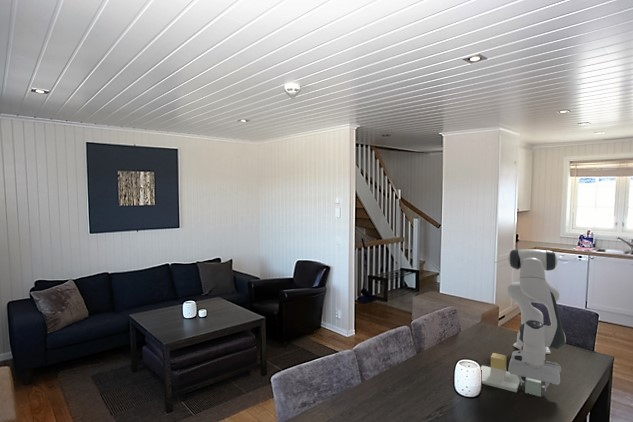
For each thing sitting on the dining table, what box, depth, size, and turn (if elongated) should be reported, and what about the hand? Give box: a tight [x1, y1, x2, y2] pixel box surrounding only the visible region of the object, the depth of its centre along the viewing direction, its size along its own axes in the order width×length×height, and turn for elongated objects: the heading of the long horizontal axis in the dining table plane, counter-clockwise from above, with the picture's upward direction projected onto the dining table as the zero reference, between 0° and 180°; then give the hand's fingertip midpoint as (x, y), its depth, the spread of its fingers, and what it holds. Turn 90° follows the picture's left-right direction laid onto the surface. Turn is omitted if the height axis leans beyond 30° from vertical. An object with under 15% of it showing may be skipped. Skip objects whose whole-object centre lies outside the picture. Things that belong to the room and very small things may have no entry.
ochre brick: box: [490, 352, 508, 370], centre depth 181 cm, size 6×6×5 cm
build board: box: [480, 365, 521, 393], centre depth 181 cm, size 18×18×6 cm
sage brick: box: [524, 377, 542, 397], centre depth 169 cm, size 6×6×5 cm
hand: (533, 387), depth 169 cm, fingers open, 7 cm apart
